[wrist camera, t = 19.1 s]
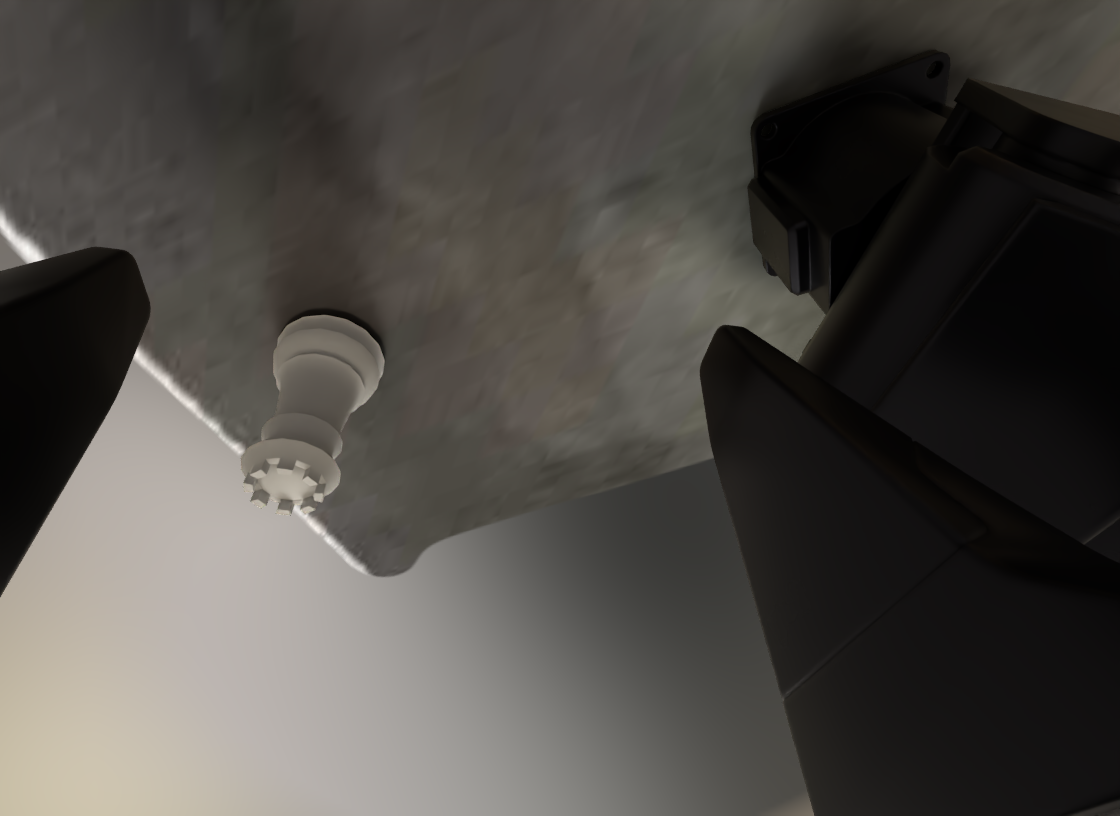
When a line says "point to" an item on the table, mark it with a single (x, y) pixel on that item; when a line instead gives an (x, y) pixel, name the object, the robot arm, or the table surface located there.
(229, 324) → the table surface
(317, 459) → the rook chess piece
